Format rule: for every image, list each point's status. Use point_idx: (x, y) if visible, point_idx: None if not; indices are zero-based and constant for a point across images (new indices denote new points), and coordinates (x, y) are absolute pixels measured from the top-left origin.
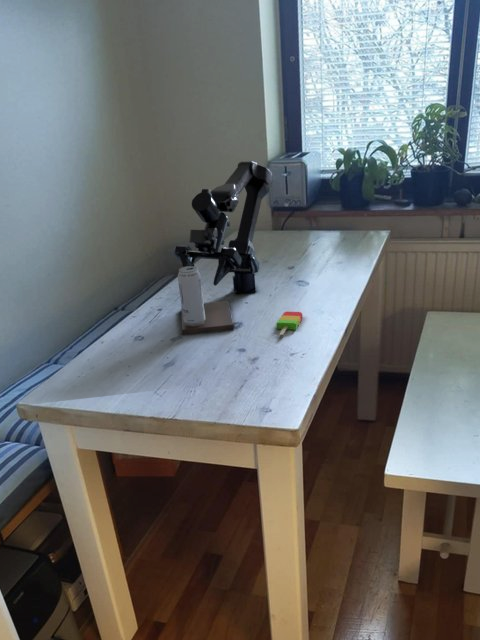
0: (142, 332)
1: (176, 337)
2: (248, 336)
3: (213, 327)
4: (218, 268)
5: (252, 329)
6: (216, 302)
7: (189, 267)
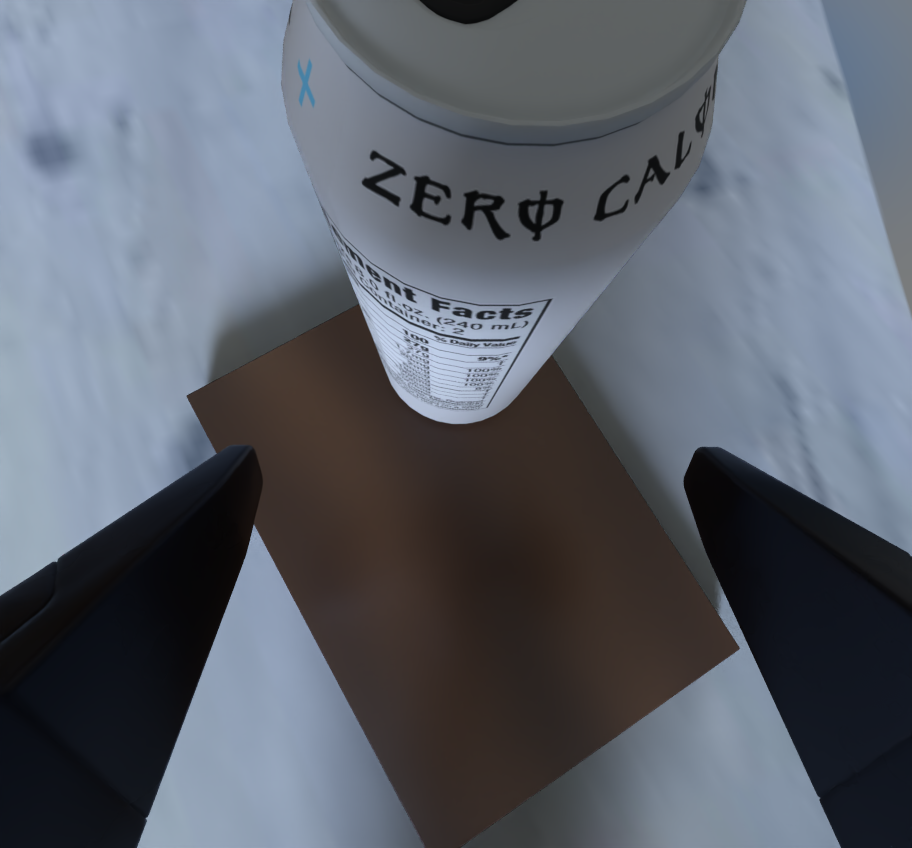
0: (725, 241)
1: None
2: (75, 330)
3: (307, 332)
4: (40, 625)
5: (85, 438)
6: (508, 796)
7: (564, 42)
